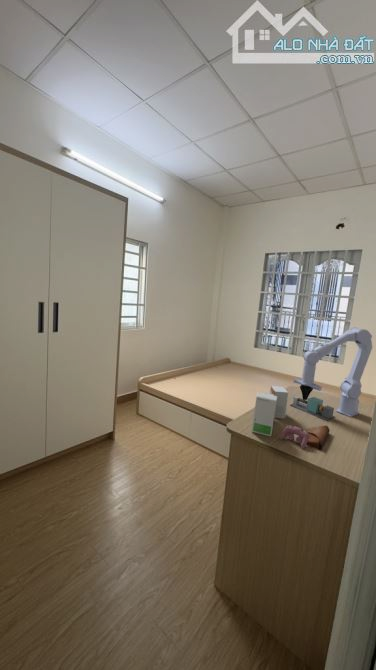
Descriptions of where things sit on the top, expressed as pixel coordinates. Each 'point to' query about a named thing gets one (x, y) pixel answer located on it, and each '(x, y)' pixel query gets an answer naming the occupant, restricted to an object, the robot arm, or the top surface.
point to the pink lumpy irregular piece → (298, 431)
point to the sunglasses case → (317, 436)
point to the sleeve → (314, 404)
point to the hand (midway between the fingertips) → (304, 399)
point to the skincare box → (264, 414)
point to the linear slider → (326, 410)
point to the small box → (280, 400)
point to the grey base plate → (304, 407)
